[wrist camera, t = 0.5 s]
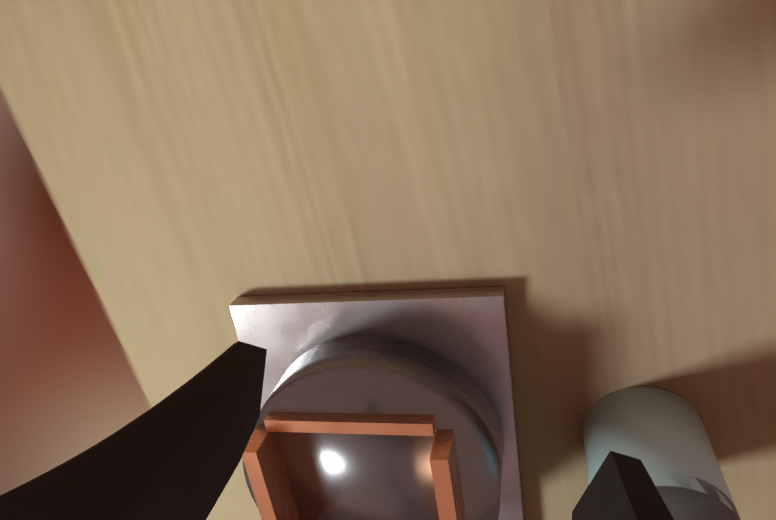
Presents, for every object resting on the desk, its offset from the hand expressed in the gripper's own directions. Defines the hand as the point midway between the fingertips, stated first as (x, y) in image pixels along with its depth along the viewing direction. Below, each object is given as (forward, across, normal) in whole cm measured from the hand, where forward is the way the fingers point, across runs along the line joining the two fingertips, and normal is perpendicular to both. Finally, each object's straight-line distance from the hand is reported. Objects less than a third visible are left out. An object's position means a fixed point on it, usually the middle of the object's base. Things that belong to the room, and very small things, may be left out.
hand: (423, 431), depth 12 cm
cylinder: (+9, -9, +7) cm, 15 cm away
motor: (+9, +1, +10) cm, 14 cm away
